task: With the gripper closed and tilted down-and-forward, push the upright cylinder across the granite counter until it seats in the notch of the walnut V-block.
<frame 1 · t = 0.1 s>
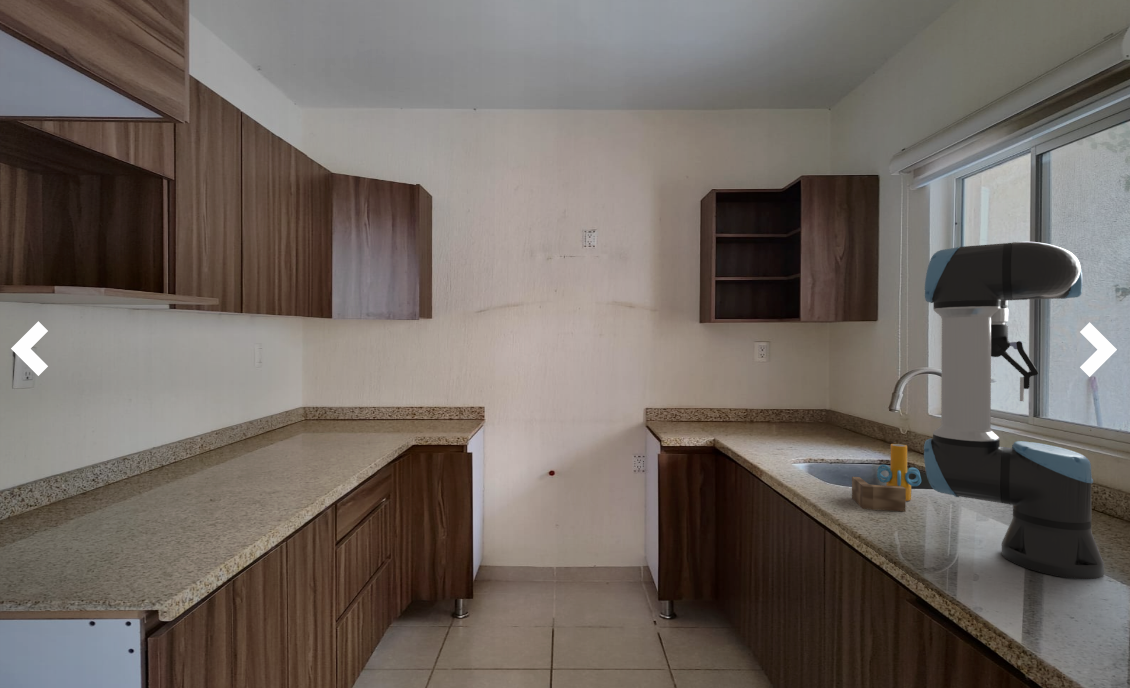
hand: (990, 399, 151), 28 cm above the countertop, tool pointing down, fingers open, 13 cm apart
cylinder: (898, 498, 151), on the countertop
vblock: (871, 495, 143), on the countertop
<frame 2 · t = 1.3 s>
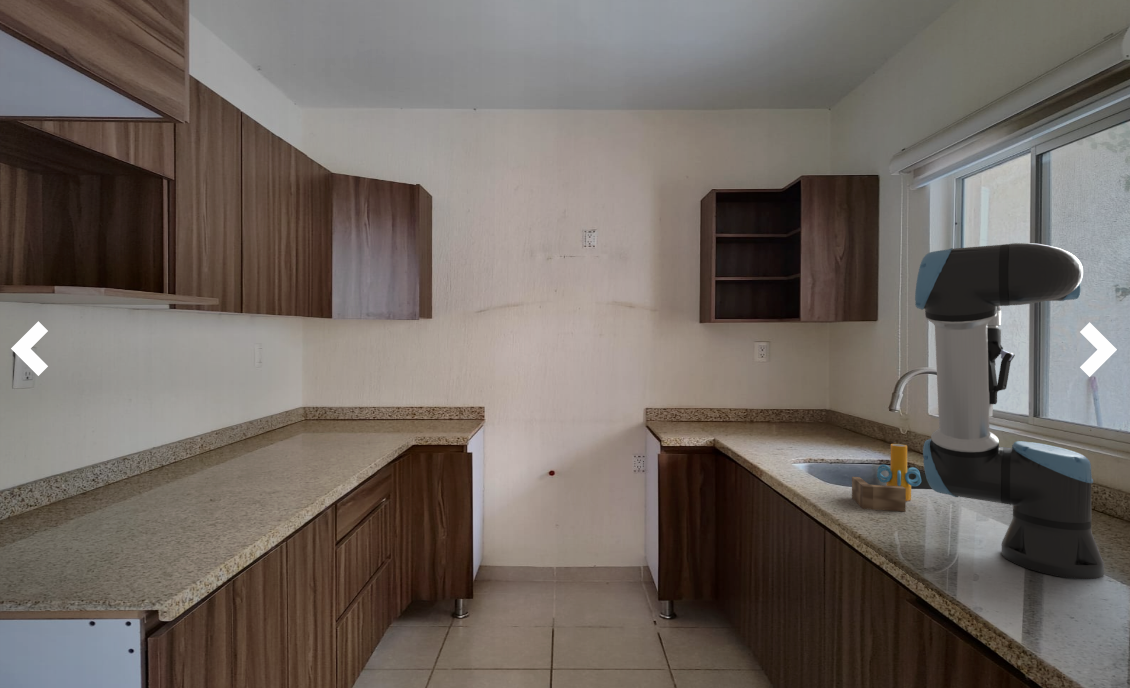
hand: (982, 415, 142), 24 cm above the countertop, tool pointing down, fingers open, 2 cm apart
nothing on the countertop moved.
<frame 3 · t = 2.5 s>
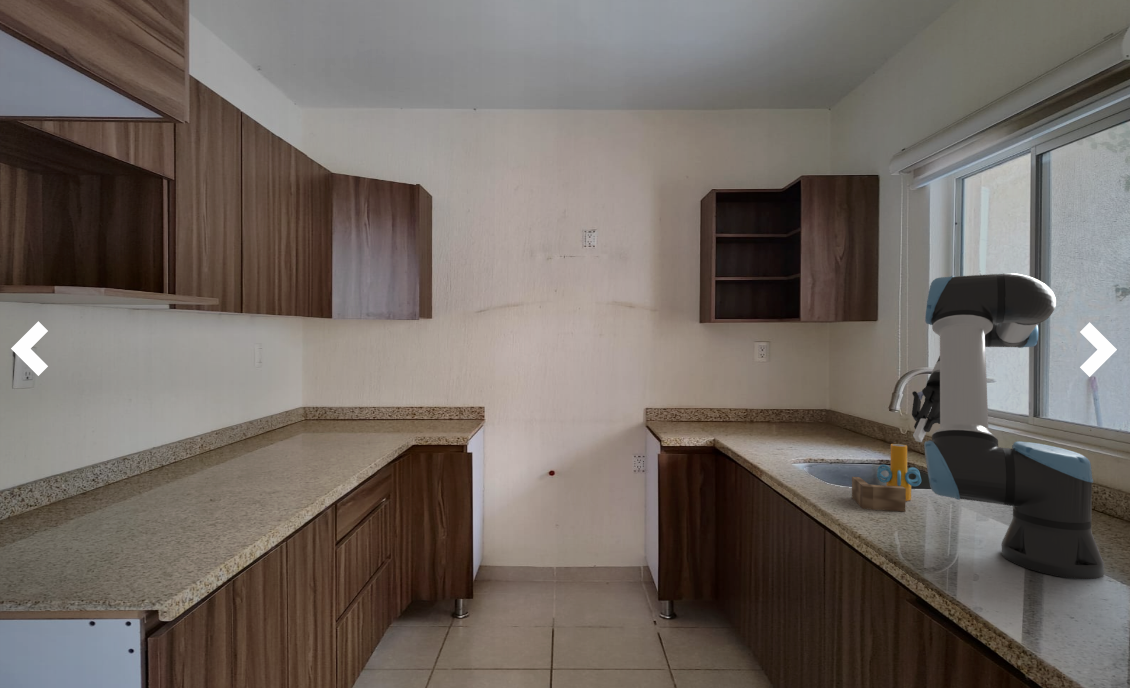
hand: (917, 438, 156), 16 cm above the countertop, tool tilted 45°, fingers closed
nothing on the countertop moved.
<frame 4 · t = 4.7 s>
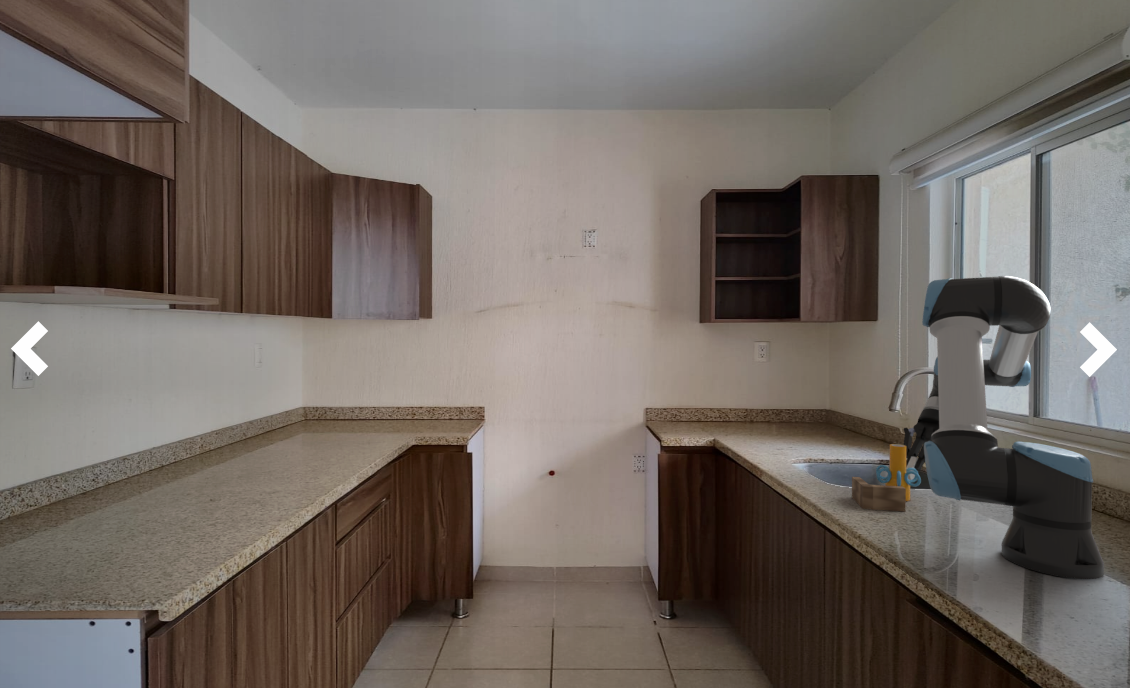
hand: (907, 477, 154), 5 cm above the countertop, tool tilted 45°, fingers closed
cylinder: (897, 499, 150), on the countertop, touching gripper
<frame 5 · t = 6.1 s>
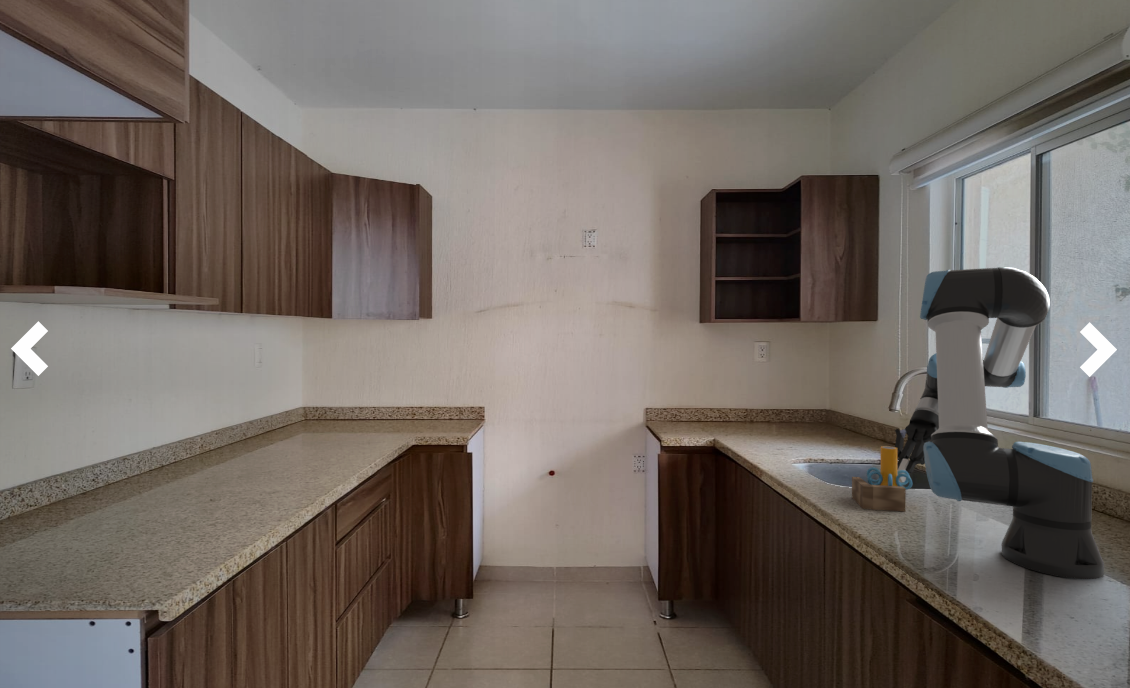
hand: (899, 480, 151), 5 cm above the countertop, tool tilted 45°, fingers closed
cylinder: (888, 502, 147), on the countertop, touching gripper
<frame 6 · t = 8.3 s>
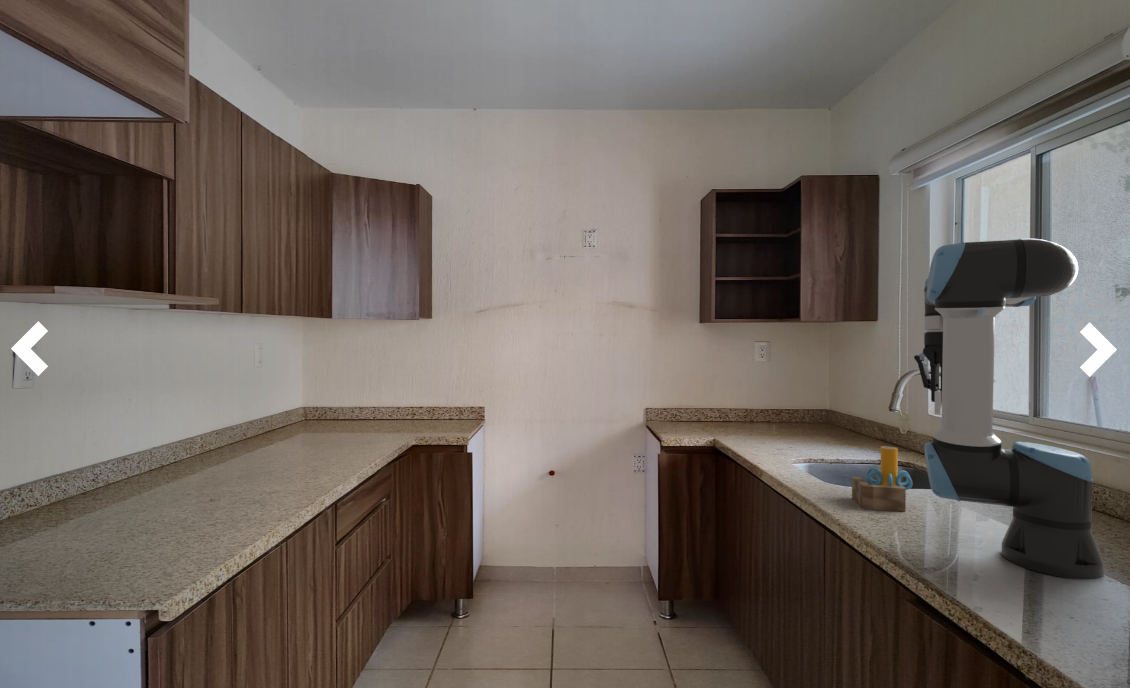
hand: (939, 413, 152), 24 cm above the countertop, tool pointing down, fingers closed
cylinder: (888, 502, 147), on the countertop
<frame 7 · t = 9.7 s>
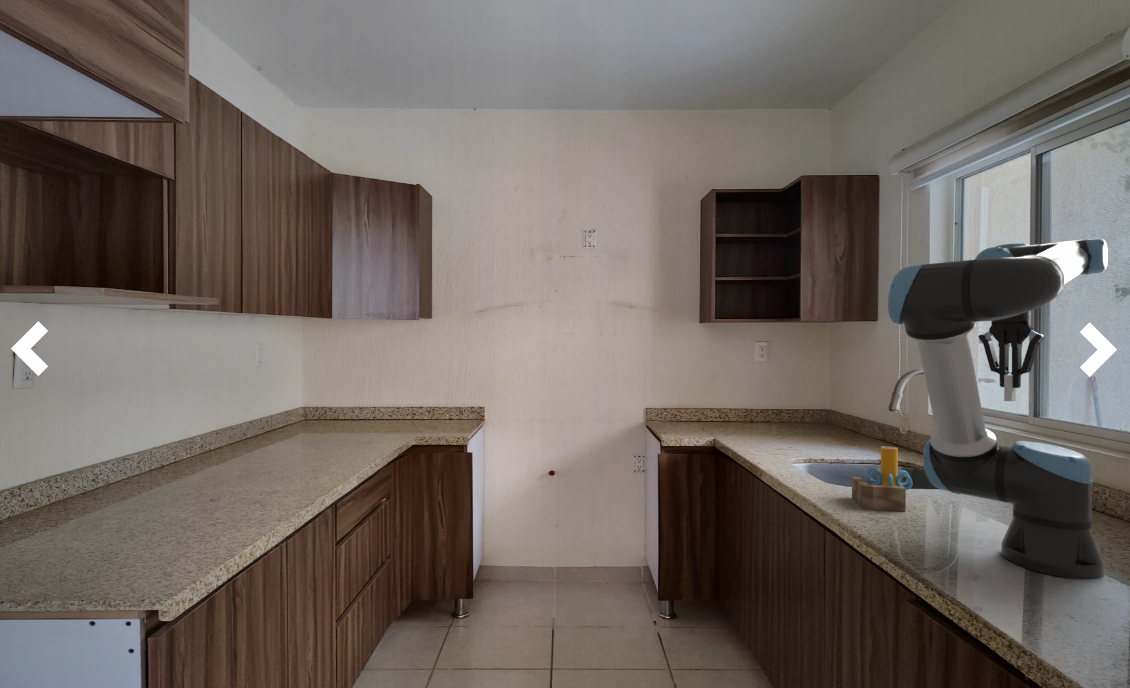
hand: (1010, 400, 134), 29 cm above the countertop, tool pointing down, fingers closed
nothing on the countertop moved.
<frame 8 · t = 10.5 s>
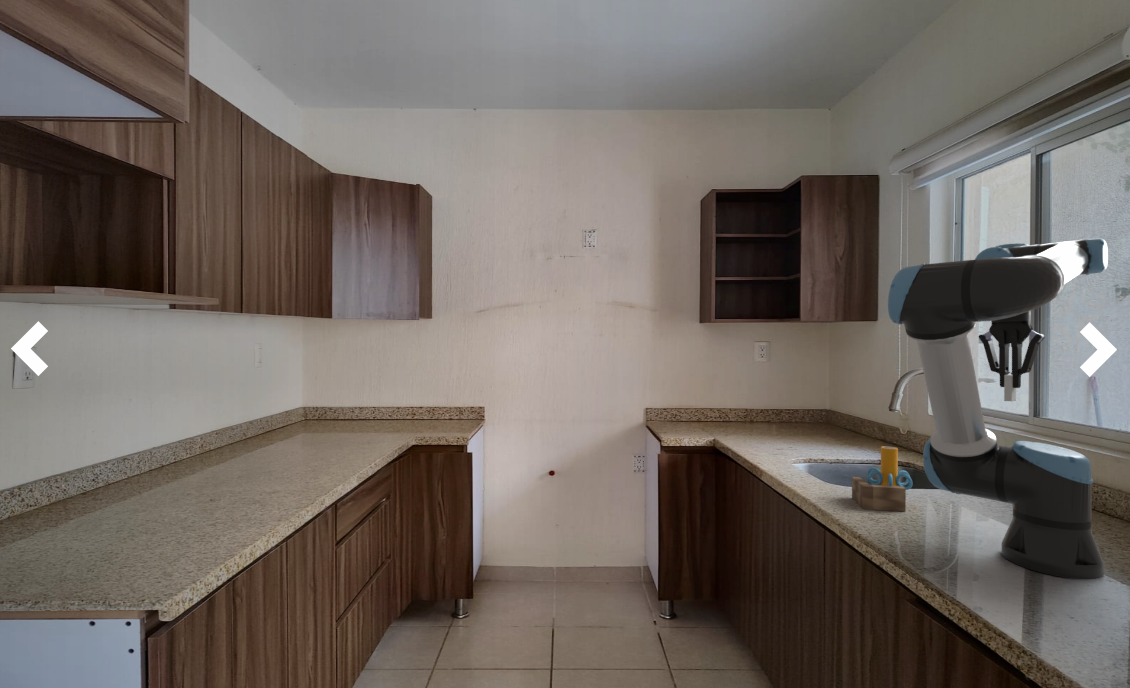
hand: (1010, 400, 134), 29 cm above the countertop, tool pointing down, fingers closed
nothing on the countertop moved.
at the end: cylinder 1.5 cm from the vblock (horizontally); cylinder tilted 0°; cylinder moved 6.1 cm from its start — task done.
